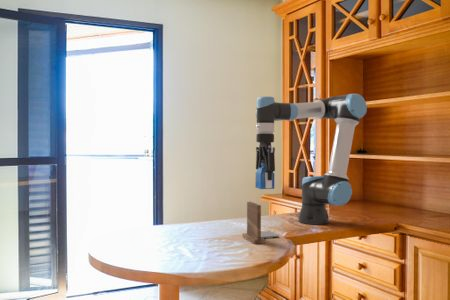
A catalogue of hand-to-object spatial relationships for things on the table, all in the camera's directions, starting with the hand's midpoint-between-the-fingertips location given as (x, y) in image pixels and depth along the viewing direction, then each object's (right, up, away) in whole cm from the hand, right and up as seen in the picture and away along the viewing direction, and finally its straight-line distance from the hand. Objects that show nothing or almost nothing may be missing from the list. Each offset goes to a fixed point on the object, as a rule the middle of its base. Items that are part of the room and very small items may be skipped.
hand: (264, 187), depth 169 cm
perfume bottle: (0, -1, 0) cm, 1 cm away
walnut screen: (-5, -21, -7) cm, 23 cm away
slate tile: (0, -21, 0) cm, 21 cm away
